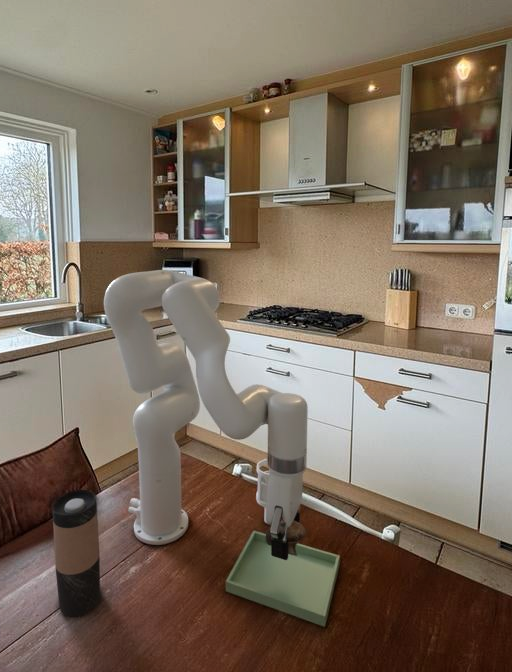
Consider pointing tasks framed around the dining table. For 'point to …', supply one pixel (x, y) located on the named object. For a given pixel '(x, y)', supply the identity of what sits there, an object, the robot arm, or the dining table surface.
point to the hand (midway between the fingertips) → (285, 542)
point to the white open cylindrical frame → (262, 487)
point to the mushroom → (290, 536)
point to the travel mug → (76, 552)
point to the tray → (286, 579)
